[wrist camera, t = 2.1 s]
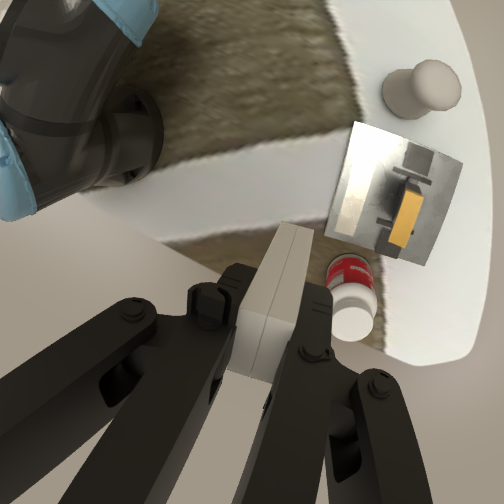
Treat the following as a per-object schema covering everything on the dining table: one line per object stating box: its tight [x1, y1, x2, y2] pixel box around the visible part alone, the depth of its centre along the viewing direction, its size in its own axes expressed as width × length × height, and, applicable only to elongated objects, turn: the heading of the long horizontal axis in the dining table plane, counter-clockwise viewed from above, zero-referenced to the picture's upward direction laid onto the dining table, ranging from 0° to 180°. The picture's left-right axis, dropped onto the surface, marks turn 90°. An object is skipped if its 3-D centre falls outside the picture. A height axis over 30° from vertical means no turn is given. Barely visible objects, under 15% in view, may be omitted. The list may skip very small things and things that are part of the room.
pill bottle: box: [326, 254, 377, 341], centre depth 33 cm, size 6×6×11 cm
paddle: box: [388, 177, 424, 248], centre depth 26 cm, size 2×6×8 cm, turn 169°
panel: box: [324, 121, 463, 266], centre depth 30 cm, size 14×14×3 cm
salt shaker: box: [382, 60, 461, 119], centre depth 20 cm, size 6×6×13 cm
